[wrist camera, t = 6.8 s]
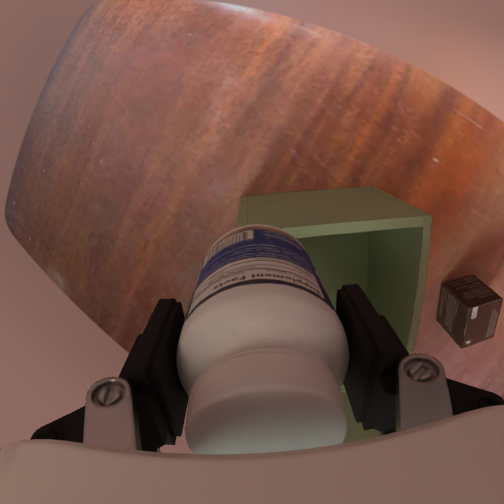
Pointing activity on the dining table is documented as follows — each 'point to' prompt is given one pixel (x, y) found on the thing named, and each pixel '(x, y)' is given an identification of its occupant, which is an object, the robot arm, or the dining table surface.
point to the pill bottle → (262, 349)
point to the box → (468, 310)
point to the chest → (357, 245)
